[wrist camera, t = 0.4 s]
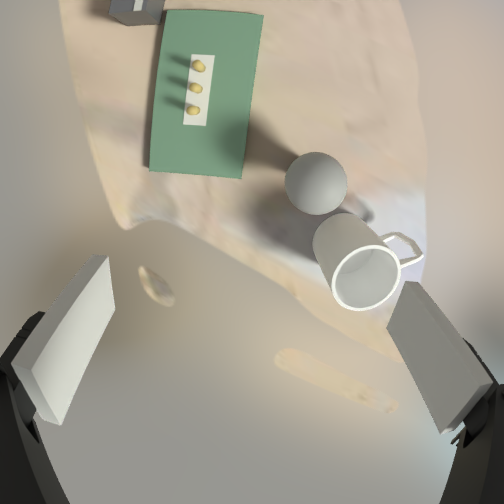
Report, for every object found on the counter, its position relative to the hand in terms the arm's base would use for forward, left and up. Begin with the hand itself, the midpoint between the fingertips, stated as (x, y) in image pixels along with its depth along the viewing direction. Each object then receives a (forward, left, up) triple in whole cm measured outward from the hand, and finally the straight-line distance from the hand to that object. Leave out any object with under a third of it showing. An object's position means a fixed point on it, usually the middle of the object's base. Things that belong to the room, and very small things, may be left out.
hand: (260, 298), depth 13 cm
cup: (+7, +15, -26) cm, 31 cm away
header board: (-9, -7, -26) cm, 29 cm away
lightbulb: (-1, +6, -26) cm, 27 cm away
